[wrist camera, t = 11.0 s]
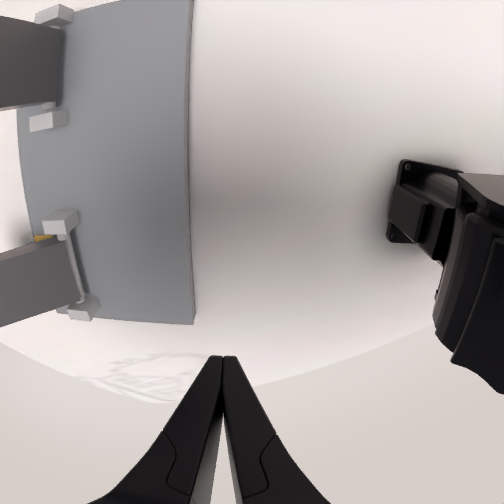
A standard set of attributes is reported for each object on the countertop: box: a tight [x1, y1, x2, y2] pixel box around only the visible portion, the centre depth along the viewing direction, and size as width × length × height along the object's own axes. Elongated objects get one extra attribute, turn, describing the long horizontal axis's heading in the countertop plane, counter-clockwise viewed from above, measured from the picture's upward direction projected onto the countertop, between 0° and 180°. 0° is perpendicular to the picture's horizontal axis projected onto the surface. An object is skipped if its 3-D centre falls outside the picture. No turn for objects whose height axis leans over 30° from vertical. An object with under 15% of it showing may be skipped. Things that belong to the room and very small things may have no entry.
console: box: [17, 0, 195, 325], centre depth 17 cm, size 13×24×4 cm, turn 178°
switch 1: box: [0, 16, 61, 111], centre depth 9 cm, size 2×6×10 cm, turn 178°
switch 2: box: [0, 232, 86, 327], centre depth 17 cm, size 2×6×10 cm
